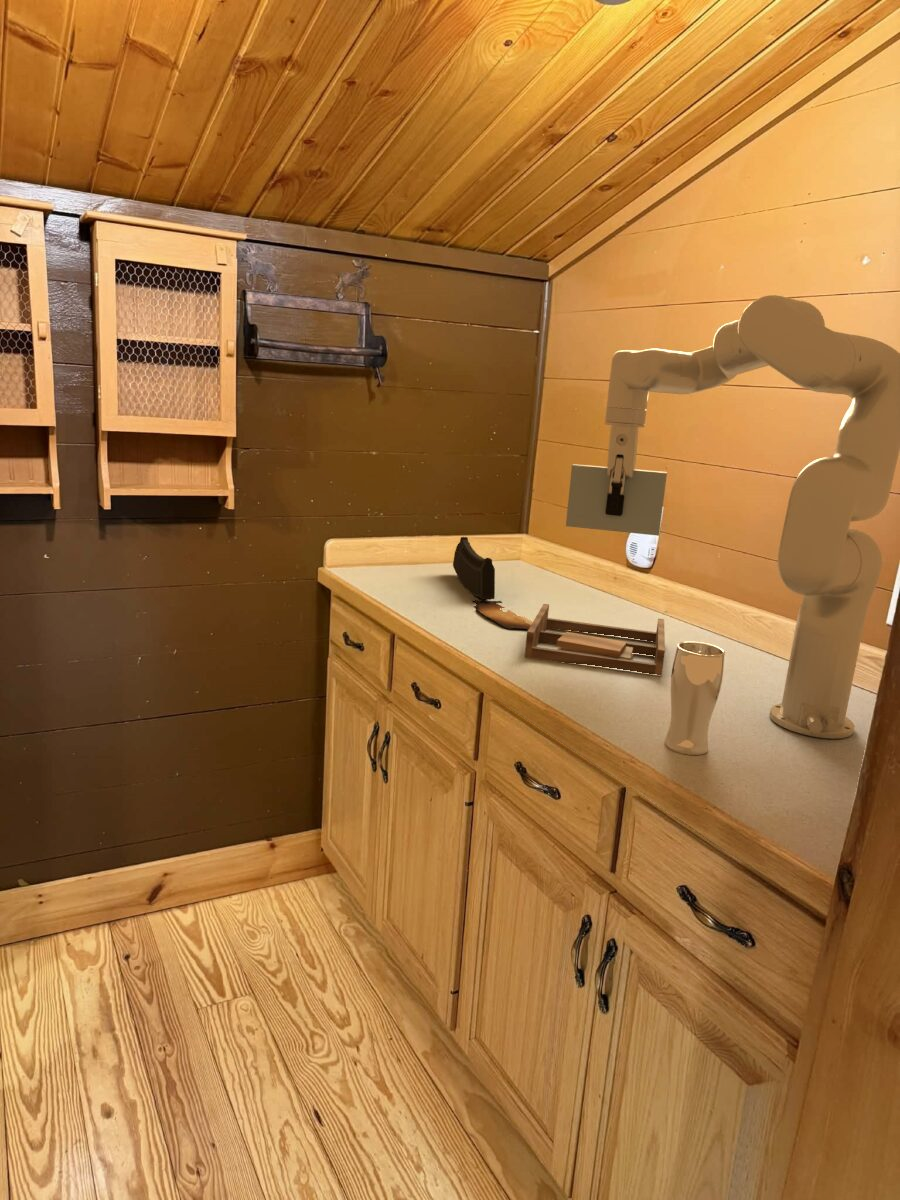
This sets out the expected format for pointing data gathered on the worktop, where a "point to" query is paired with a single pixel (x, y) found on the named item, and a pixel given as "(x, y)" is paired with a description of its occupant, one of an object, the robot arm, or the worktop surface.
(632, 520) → the tall board
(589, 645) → the offcut stack
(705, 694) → the beer glass
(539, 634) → the rack
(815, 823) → the worktop surface
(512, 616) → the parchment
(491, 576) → the magazine
